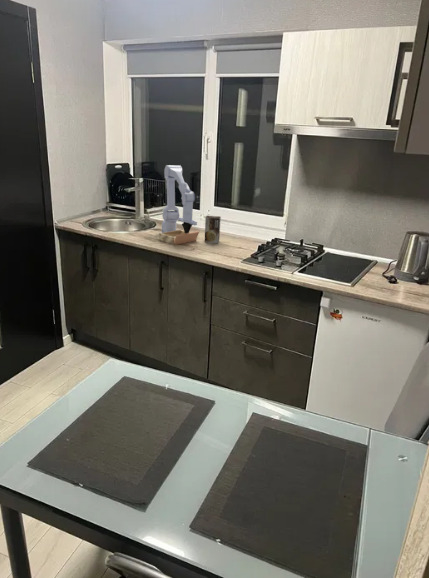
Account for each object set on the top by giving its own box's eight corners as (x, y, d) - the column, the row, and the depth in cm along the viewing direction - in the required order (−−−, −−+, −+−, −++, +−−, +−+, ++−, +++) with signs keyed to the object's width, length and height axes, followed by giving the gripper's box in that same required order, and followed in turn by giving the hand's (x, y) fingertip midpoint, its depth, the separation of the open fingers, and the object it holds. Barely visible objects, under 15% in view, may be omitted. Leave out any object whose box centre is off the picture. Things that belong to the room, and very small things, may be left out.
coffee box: (219, 241, 272) (221, 216, 266) (218, 244, 266) (220, 218, 260) (205, 240, 272) (206, 215, 267) (204, 242, 266) (205, 217, 261)
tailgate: (173, 243, 256) (176, 234, 253) (194, 239, 269) (198, 231, 265) (174, 244, 256) (177, 235, 252) (195, 240, 268) (199, 231, 265)
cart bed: (158, 240, 265) (159, 233, 263) (180, 236, 278) (180, 229, 276) (172, 245, 257) (173, 237, 255) (194, 240, 269) (194, 233, 268)
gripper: (174, 211, 257) (173, 233, 262) (191, 215, 248) (190, 238, 252) (183, 210, 262) (182, 232, 266) (199, 214, 253) (198, 236, 257)
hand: (186, 235), depth 260 cm, fingers closed, pressing on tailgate
